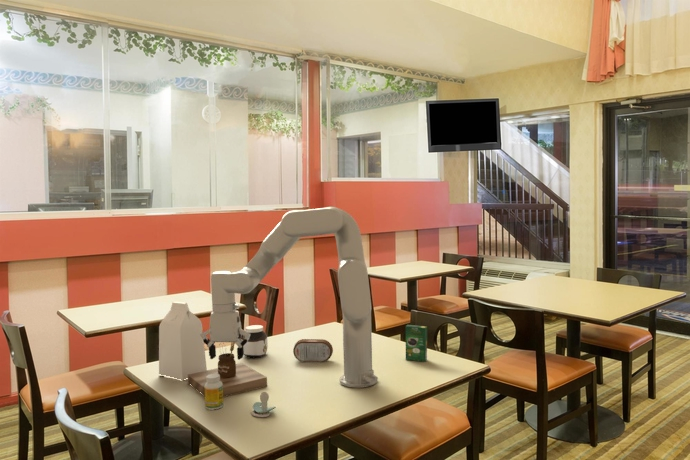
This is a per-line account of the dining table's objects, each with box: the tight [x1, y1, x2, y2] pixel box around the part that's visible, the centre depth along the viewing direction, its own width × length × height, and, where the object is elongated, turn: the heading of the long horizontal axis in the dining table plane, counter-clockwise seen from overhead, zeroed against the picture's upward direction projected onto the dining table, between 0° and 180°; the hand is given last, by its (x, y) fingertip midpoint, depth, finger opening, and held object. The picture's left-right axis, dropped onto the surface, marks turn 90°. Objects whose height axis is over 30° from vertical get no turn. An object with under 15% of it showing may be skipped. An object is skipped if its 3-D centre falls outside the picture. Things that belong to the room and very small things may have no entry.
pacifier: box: [250, 391, 276, 418], centre depth 156 cm, size 7×6×6 cm
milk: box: [158, 301, 208, 380], centre depth 193 cm, size 12×12×26 cm
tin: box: [292, 338, 334, 363], centre depth 204 cm, size 15×3×8 cm, turn 84°
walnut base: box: [187, 362, 268, 398], centre depth 182 cm, size 20×20×3 cm
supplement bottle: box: [204, 374, 224, 411], centre depth 162 cm, size 5×5×10 cm
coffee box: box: [405, 324, 428, 362], centre depth 202 cm, size 8×3×13 cm, turn 67°
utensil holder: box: [217, 342, 237, 378], centre depth 181 cm, size 6×6×12 cm
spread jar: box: [241, 324, 269, 360], centre depth 215 cm, size 12×11×12 cm
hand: (226, 358), depth 181 cm, fingers open, 9 cm apart
